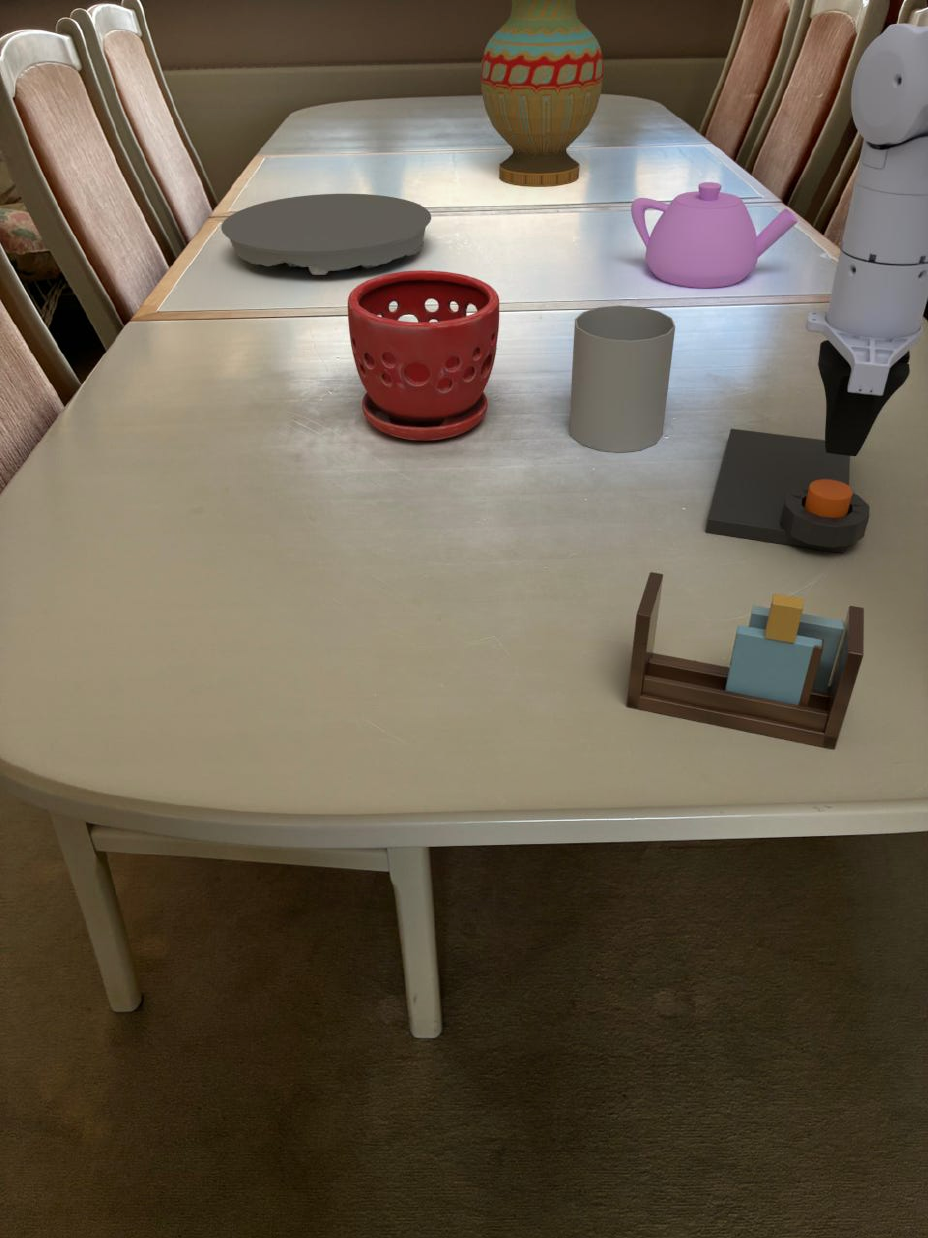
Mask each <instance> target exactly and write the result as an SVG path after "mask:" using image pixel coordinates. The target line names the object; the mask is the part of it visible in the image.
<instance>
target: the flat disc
mask: <svg viewBox="0 0 928 1238" xmlns="http://www.w3.org/2000/svg"><path fill="white" fill-rule="evenodd" d="M431 221H432V213H431V212H430V211H429V210H428V209H427V208H426V207H424V206H423V205H421V204H419V203H416V202H414V201H410V200H407V199H403V198H398V197H394V196H389V195H388V196H387V195H380V194H367V193H321V194H309V195H300V196H299V195H298V196H292V197H285V198H281V199H274V200H269V201H266V202H261V203H258V204H253V205H252V206H248V207H246V208H243V209H240V210H238V211H236V212H233V213H232V214H230V215H229V216H228V217H226V218H225V219H224V220H223V221H222V223H221V226H220V227H221V228H220V229H221V232H222V233H223V235H225V237H227V238H228V239H229V241H230V243H231V247H232V248H233V251H234V252H235V254H236V255H237V256H238V257H239V258H240V259H242V261H245V262H248V263H249V264H251V265H256V266H258V265H262V266H264V267H272V266H277V265H281V264H284V263H285V264H287V266H289V267H291V268H297V267H301V268H308V270H309V272H310V274H311V275H313V276H314V275H316V276H318V275H320V276H321V275H322V276H324V275H325V276H326V275H328V273H329V272H330V271H331V272H335V271H339V272H341V271H345V270H350V269H352V268H357V267H362V268H364V269H367V270H371V269H373V268H375V267H378V266H379V265H386V264H388V263H390V262H392V261H393V260H394V261H395V260H396V259H400V258H403V257H405V256H406V257H409V256H411V255H413V256H414V255H416V254H417V253H418V252H420V251H421V250H422V248H423V246H424V237H425V233H426V229H427V226H428V225H430V223H431Z"/></svg>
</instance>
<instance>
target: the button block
mask: <svg viewBox="0 0 928 1238" xmlns="http://www.w3.org/2000/svg"><path fill="white" fill-rule="evenodd" d="M850 468H851V456H846V455H839V454H831V453H827V452H826V449H825V439H818V438H811V437H801V436H793V435H785V434H779V433H771V432H761V431H755V430H745V429H738V428H730V430H729V434H728V439H727V442H726V446H725V450H724V453H723V458H722V462H721V466H720V469H719V472H718V476H717V477H718V478H717V482H716V485H715V489H714V493H713V496H712V501H711V504H710V509H709V512H708V516H707V520H706V525H705V526H706V527H705V533H707V534H708V533H709V534H714V535H721V536H726V537H727V536H729V537H734V538H740V539H748V540H753V541H760V542H766V543H773V544H779V545H786V546H792V547H797V548H798V547H799V548H806V549H811V550H818V551H825V552H832V553H838V554H844V553H845V548H846V547H848V546H849V547H850V546H853V545H855V544H856V543H857V542H859V541H860V540H862V539H863V538H864V537H865V534H866V531H867V527H868V523H869V519H870V505H869V504H868V503H867V502H866V501H865V500H864V499H863V498H862V496H860V495H859V494H857V493H854V492H853V493H852V497H851V501H850V505H849V509H848V513H847V515H846V516H845V517H838V518H830V517H823V516H818V515H816V514H813V513H811V512H809V511H807V510H806V509H805V503H806V498H807V494H808V490H809V486H810V484H811V483H812V482H814V481H816V480H820V479H831V480H836V481H840V482H843V483H845V484H847V485H848V486H849V487H850Z"/></svg>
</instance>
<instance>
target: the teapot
mask: <svg viewBox="0 0 928 1238" xmlns="http://www.w3.org/2000/svg"><path fill="white" fill-rule="evenodd" d="M697 186H698V187H697V188H698V190H697V191H688V192H683V193H680V194H677V195H676V196H675V197H674V198H673V199H672V200H671V201H670V203H669V204H668V203H665V202H663V201H659V200H657V199H652V198H649V197H637V198H635V199H634V200H633V201H632V203H631V208H630V212H631V218H632V221H633V224H634V226H635V229H636V231H637V233H638V235H639V237H640V238H641V241H642V242H643V244H644V246H645V248H646V249H645V261H646V264H647V266H648V268H649V269H650V271H651V272H652V274H654V276H655V277H656V278H657V279H658V280H660V281H662V282H664V283H666V284H671V285H673V286H679V287H684V288H694V289H715V288H716V289H717V288H724V287H730V286H733V285H736V284H738V283H740V282H741V281H744V279H745V278H746V277H747V276H749V274H750V273H751V272H753V270H754V269H755V267H756V266H757V264H758V260H759V258H760V257H761V256H762V255H763V254H764V253H765V252H766V251H768V250H769V249H770V248H771V247H772V246H773V245H774V244H775V243H777V241H778V240H780V239H781V238H782V237H783V236H784V235H785V234H786V233H787V232H789V230H791V228H793V227H794V226H795V225H796V224H797V223H798V222H799V221H798V218H797V217H796V216H795V215H794V213H792V212H791V211H790V210H789V209H788V208H786V207H785V208H784V209H783V210H781V212H780V213H779V214H777V216H776V217H775V218H773V219H772V220H771V222H770V223H769V224H768V225H766V227H765V228H764V229H763V230H761V232H760V233H759V234H758V235H757V232H756V228H755V226H754V225H755V224H754V222H753V219H752V217H751V214H750V213H749V210H748V208H747V206H746V204H745V202H744V201H743V199H742V198H741V197H740V196H738V195H735V194H732V193H728V192H722V187H723V185H722V184H720V183H718V182H713V181H704V182H700V183H699V184H698V185H697ZM648 209H651V210H652V209H653V210H657V211H659V212H662V214H661V216H659V218H658V220H657V222H656V223H655V225H654V226H653V228H652V231H651V233H650V234H649V231H648V229H647V224H646V214H645V213H646V211H647V210H648Z"/></svg>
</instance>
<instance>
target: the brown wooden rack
mask: <svg viewBox="0 0 928 1238" xmlns="http://www.w3.org/2000/svg"><path fill="white" fill-rule="evenodd" d="M663 580H664V573H659V572H654V571H650V572H649V574H648V577H647V580H646V584H645V587H644V590H643V593H642V596H641V599H640V602H639V605H638V609H637V611H636V616H635V622H634V623H635V624H634V634H633V640H632V641H633V642H632V651H631V660H630V667H629V677H628V685H627V694H626V702H625V703H626V704H625V706H626V707H627V708H631V709H632V708H633V709H637V710H642V711H647V712H652V713H656V714H661V715H665V716H671V717H676V718H680V719H685V720H691V721H696V722H700V723H705V724H710V725H713V726H714V725H715V726H719V727H724V728H730V729H733V730H739V731H743V732H749V733H753V734H759V735H762V736H767V737H773V738H777V739H781V740H787V741H793V742H796V743H801V744H806V745H812V746H816V747H822V748H825V749H826V748H827V749H831V750H835V749H836V748H837V743H838V742H839V738H840V735H841V731H842V728H843V725H844V724H843V723H844V721H845V717H846V714H847V711H848V709H849V708H848V707H849V705H850V702H851V698H852V694H853V691H854V688H855V685H856V681H857V678H858V676H859V675H858V674H859V672H860V668H861V665H862V661H863V659H864V653H865V652H864V651H865V650H864V649H865V608H864V607H861V606H856V605H849V606H848V609H847V612H846V616H845V619H844V620H841V619H835V618H829V617H824V616H818V615H813V614H812V615H811V614H807V613H806V614H805V613H802V615H801V619H800V623H799V627H798V631H797V635H798V636H804V637H810V638H820V639H823V640H824V644H823V651H822V655H821V659H820V662H819V666H818V670H817V674H816V677H815V681H814V685H813V688H812V692H811V696H810V700H809V703H808V707H806V706H801V705H796V704H791V703H786V702H780V701H775V700H770V699H765V698H760V697H755V696H750V695H745V694H740V693H735V692H730V691H725V688H726V683H727V678H728V673H729V668H730V666H726V665H725V666H724V665H719V664H714V663H708V662H704V661H698V660H692V659H688V658H682V657H676V656H671V655H667V654H661V653H656V652H654V648H655V641H656V633H657V626H658V618H659V611H660V603H661V595H662V589H663ZM769 611H770V607H765V606H760V605H752V608H751V613H750V618H749V622H748V627H753V628H759V629H765V630H766V625H767V620H768V616H769Z"/></svg>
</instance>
